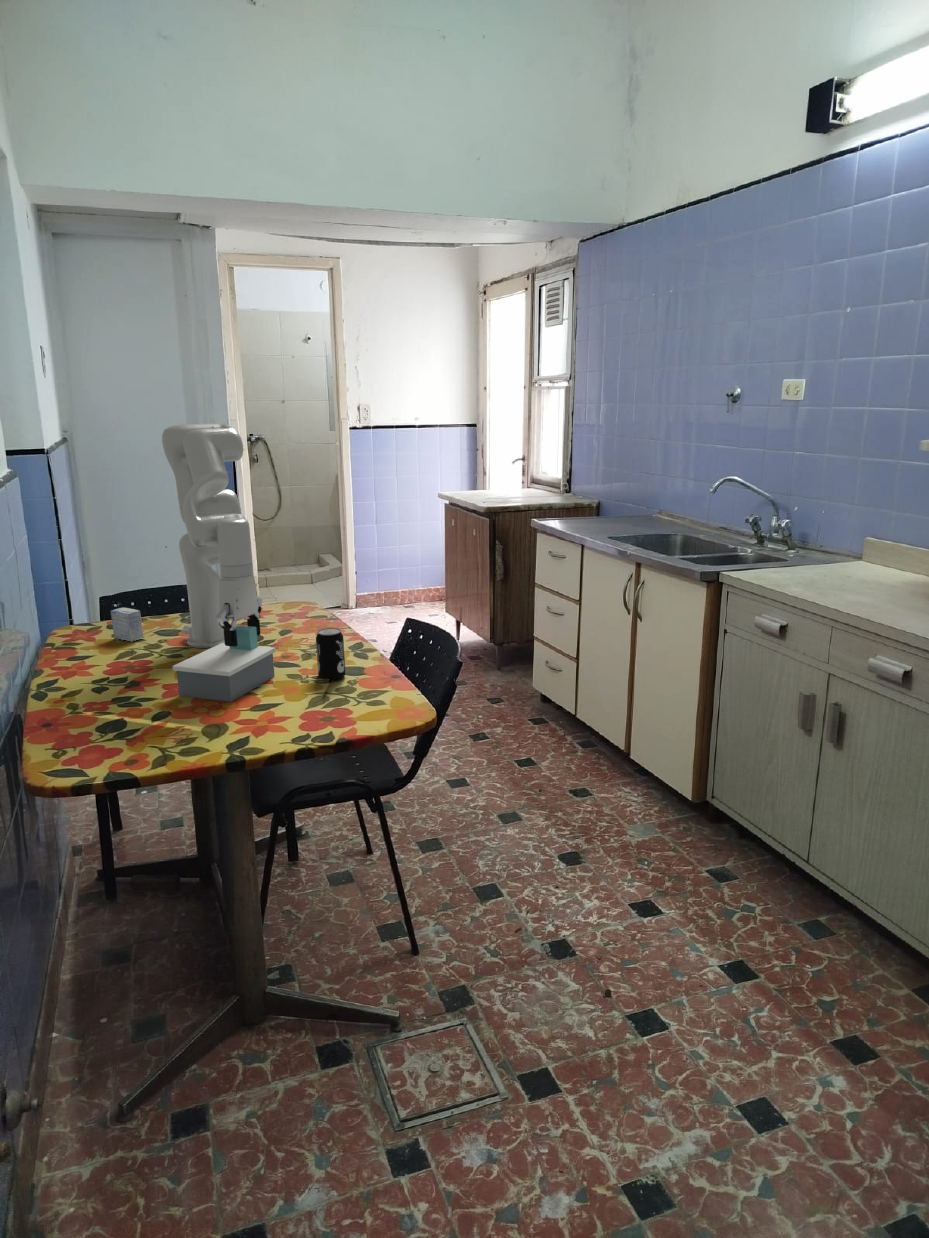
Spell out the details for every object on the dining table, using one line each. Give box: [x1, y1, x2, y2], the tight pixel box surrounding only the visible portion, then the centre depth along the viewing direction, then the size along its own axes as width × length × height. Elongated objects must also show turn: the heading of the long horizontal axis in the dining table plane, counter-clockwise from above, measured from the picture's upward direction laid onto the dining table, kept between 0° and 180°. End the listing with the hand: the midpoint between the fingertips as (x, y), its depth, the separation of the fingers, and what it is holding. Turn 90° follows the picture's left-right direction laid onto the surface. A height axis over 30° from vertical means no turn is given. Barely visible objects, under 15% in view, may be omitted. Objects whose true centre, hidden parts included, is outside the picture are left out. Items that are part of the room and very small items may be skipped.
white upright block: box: [110, 607, 145, 642], centre depth 235 cm, size 8×4×9 cm, turn 58°
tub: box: [176, 653, 276, 703], centre depth 193 cm, size 14×18×7 cm
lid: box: [172, 624, 276, 676], centre depth 191 cm, size 15×19×7 cm
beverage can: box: [315, 627, 346, 682], centre depth 198 cm, size 7×7×12 cm
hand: (243, 640), depth 198 cm, fingers open, 9 cm apart
